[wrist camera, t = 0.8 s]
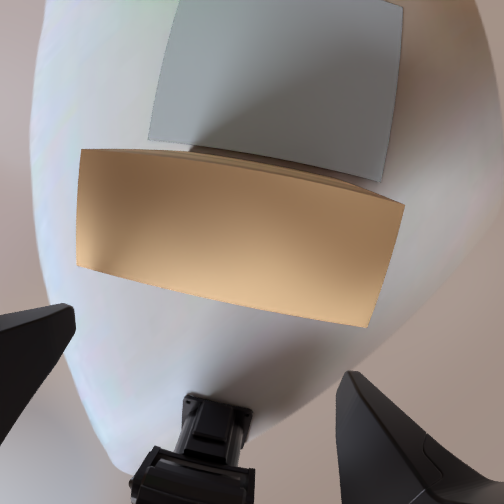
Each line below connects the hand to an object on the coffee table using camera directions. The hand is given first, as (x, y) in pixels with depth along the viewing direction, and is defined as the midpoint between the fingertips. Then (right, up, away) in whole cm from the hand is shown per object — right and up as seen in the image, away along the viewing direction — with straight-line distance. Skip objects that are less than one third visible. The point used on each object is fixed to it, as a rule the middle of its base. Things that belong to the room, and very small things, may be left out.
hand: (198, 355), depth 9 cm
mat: (+4, +16, +8) cm, 18 cm away
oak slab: (+2, +7, +11) cm, 14 cm away
